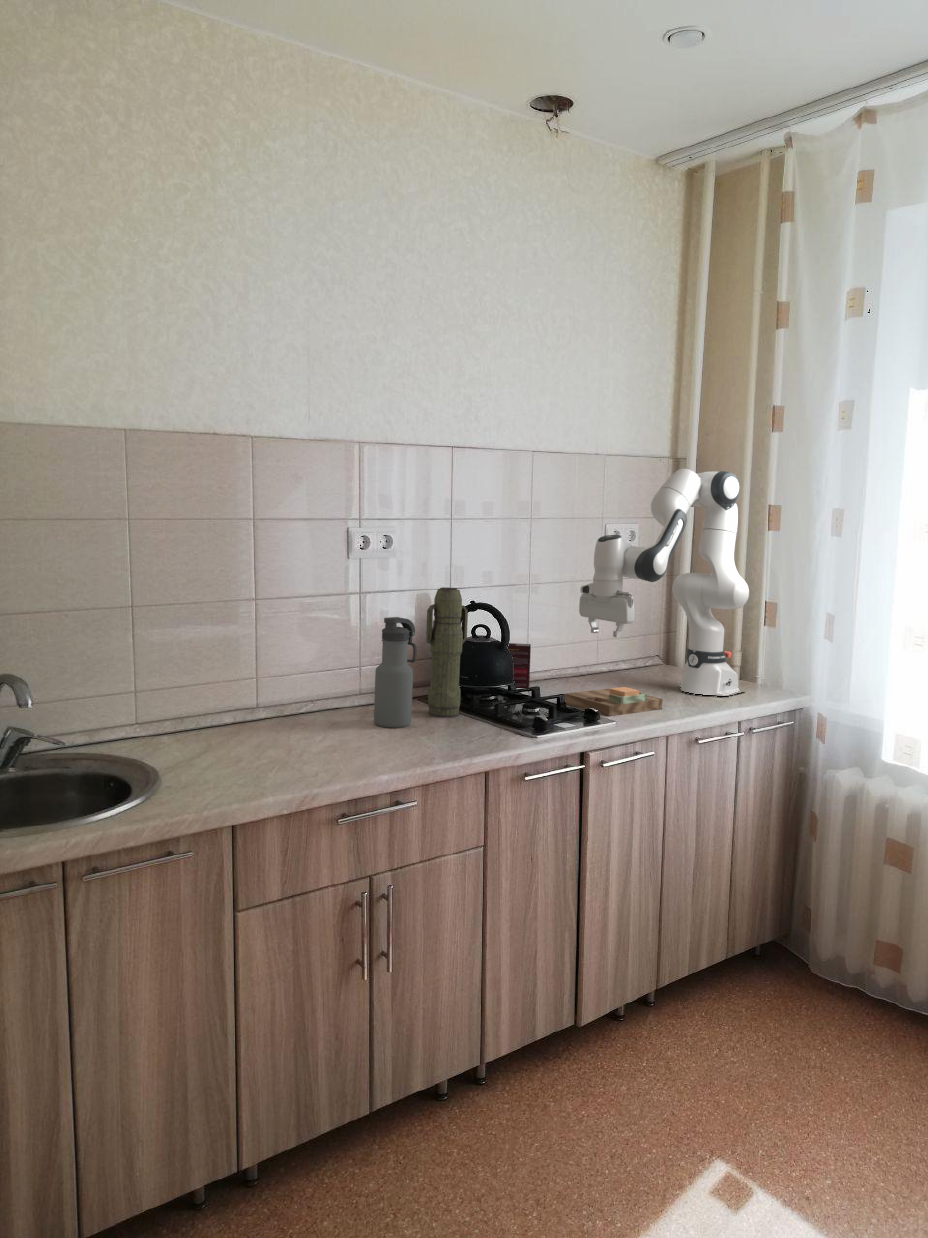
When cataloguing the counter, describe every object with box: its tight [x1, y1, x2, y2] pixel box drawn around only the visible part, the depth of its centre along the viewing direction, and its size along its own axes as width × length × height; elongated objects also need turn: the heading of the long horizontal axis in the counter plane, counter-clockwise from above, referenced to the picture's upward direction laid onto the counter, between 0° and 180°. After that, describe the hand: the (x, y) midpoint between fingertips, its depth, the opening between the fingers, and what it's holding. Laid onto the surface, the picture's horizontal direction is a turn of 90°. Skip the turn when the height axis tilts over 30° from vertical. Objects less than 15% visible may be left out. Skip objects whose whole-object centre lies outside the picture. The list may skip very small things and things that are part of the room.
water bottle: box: [373, 616, 418, 729], centre depth 240 cm, size 10×10×28 cm
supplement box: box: [508, 642, 532, 689], centre depth 287 cm, size 9×5×16 cm, turn 84°
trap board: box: [563, 687, 663, 717], centre depth 276 cm, size 22×19×5 cm
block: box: [610, 686, 640, 697], centre depth 270 cm, size 6×6×3 cm
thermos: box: [425, 586, 469, 719], centre depth 254 cm, size 9×12×35 cm
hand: (605, 635), depth 279 cm, fingers open, 8 cm apart
